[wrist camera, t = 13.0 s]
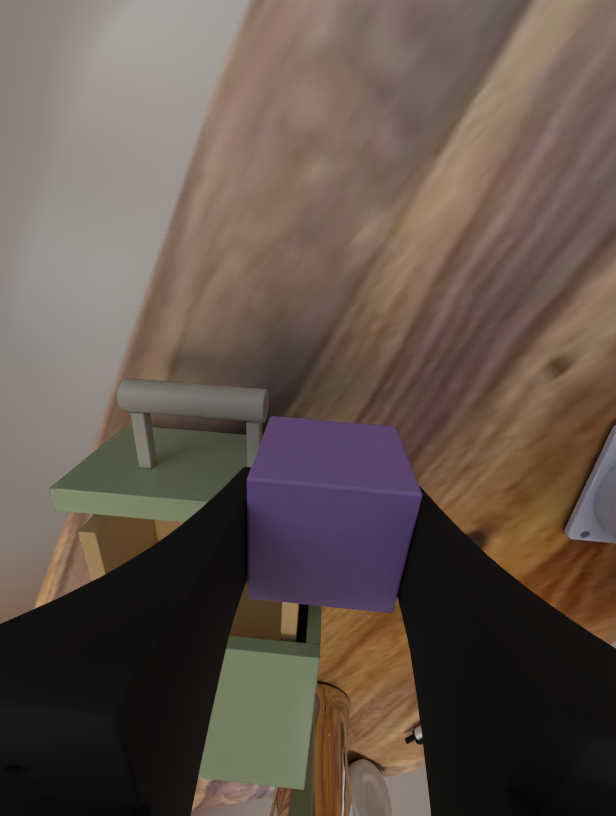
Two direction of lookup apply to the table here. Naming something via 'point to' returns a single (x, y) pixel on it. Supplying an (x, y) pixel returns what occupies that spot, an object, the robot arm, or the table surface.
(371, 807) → the pill bottle
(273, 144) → the table surface
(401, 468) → the cube
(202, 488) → the drawer
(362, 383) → the table surface
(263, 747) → the cabinet
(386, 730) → the table surface
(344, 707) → the beer glass
